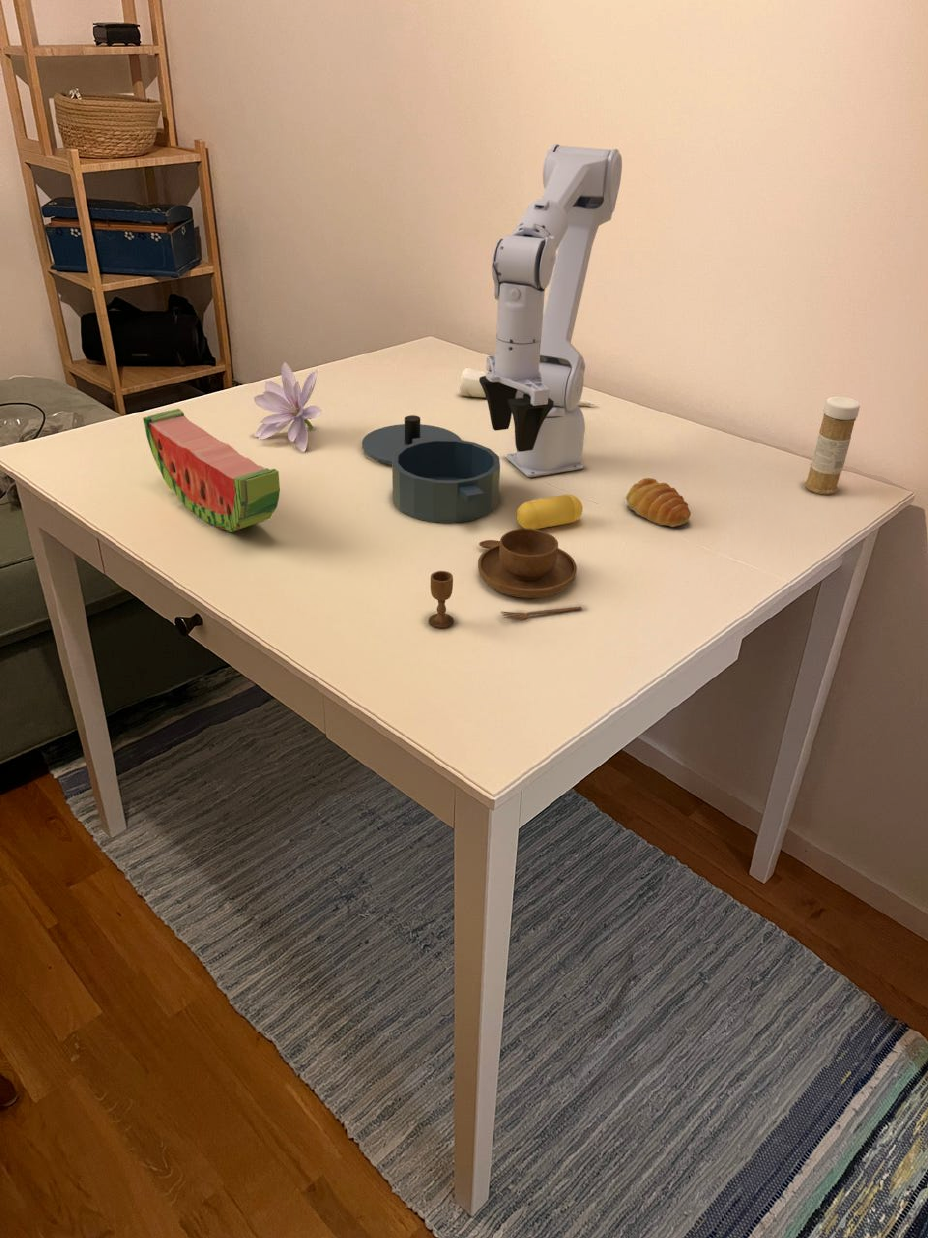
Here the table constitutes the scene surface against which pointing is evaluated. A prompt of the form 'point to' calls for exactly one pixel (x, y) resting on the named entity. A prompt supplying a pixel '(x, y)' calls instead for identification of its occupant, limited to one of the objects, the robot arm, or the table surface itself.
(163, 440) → the fruit slice
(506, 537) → the place setting
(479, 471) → the pot
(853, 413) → the sprinkles bottle
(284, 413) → the water lily
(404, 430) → the pot lid
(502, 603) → the table surface
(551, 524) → the yellow rounded capsule
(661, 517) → the pastry
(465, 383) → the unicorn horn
